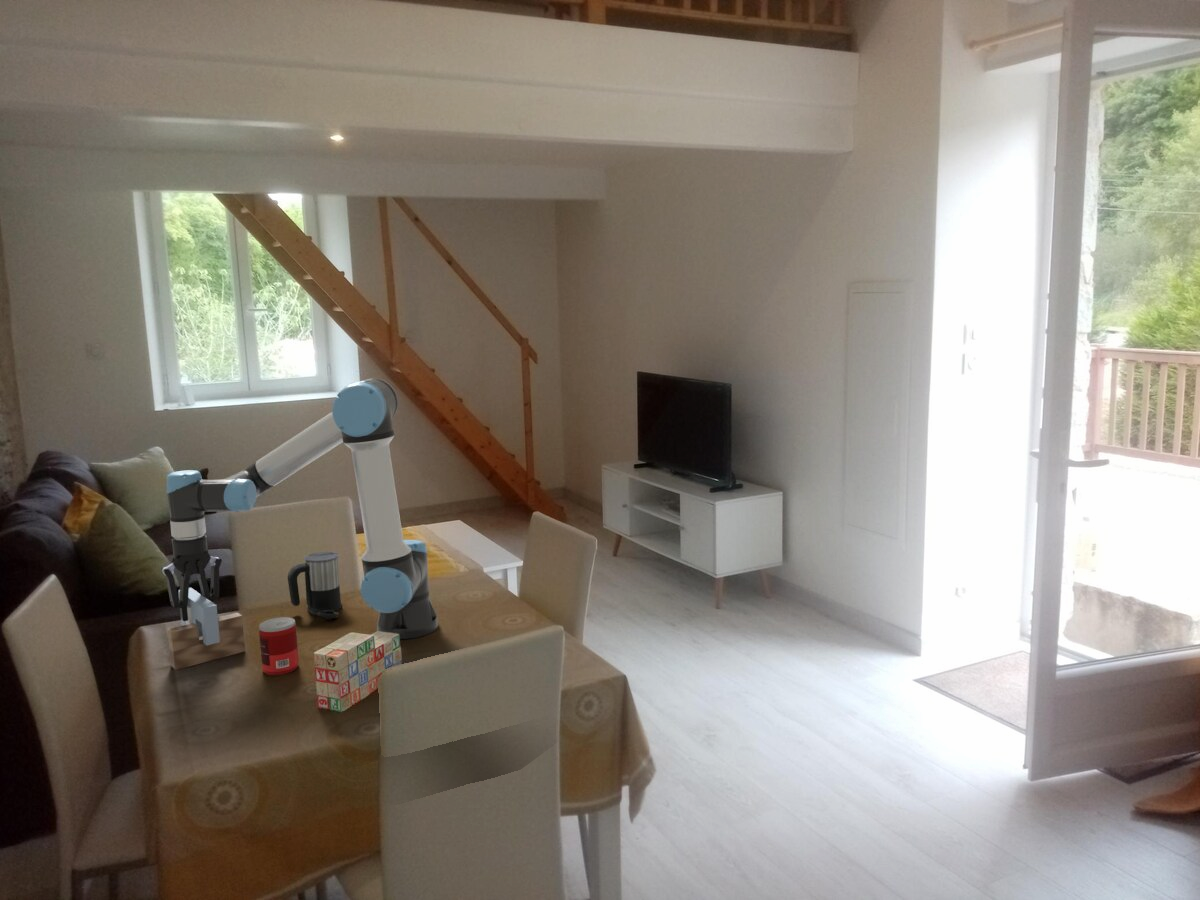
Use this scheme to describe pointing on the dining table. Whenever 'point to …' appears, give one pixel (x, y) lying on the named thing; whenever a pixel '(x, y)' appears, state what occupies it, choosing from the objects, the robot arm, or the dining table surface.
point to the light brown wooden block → (194, 651)
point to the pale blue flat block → (203, 617)
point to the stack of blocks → (353, 667)
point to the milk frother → (318, 584)
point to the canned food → (278, 645)
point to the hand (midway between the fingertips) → (198, 630)
